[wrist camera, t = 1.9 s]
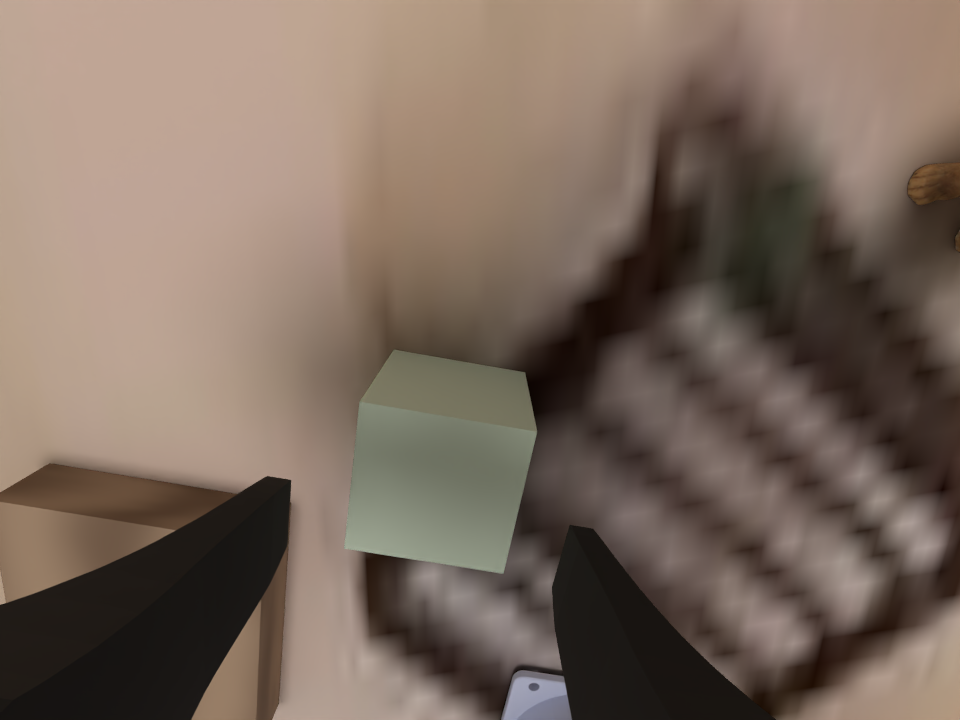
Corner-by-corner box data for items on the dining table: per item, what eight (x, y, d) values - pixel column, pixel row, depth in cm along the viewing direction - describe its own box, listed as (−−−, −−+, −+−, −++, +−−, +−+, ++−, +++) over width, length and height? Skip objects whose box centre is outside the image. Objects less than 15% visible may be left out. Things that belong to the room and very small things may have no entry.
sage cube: (524, 371, 18) (537, 431, 13) (500, 483, 20) (503, 573, 15) (394, 348, 18) (359, 401, 13) (379, 463, 19) (344, 548, 15)
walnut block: (295, 496, 20) (263, 544, 18) (282, 694, 24) (254, 760, 21) (59, 457, 20) (-13, 499, 17) (83, 665, 24) (28, 727, 21)
